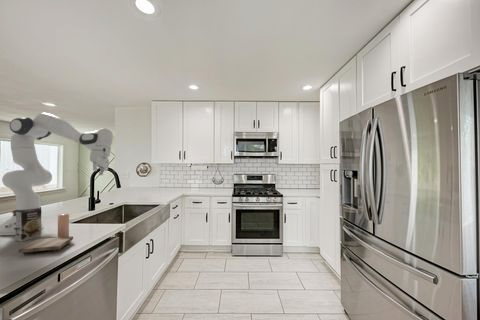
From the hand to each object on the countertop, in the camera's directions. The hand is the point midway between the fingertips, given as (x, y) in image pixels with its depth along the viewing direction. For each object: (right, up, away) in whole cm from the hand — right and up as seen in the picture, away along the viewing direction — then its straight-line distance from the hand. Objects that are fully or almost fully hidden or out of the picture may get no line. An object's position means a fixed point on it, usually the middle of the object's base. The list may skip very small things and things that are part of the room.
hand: (97, 173), depth 133 cm
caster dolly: (-9, -37, -25) cm, 45 cm away
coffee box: (-34, -37, -9) cm, 51 cm away
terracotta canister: (-13, -37, -10) cm, 41 cm away
